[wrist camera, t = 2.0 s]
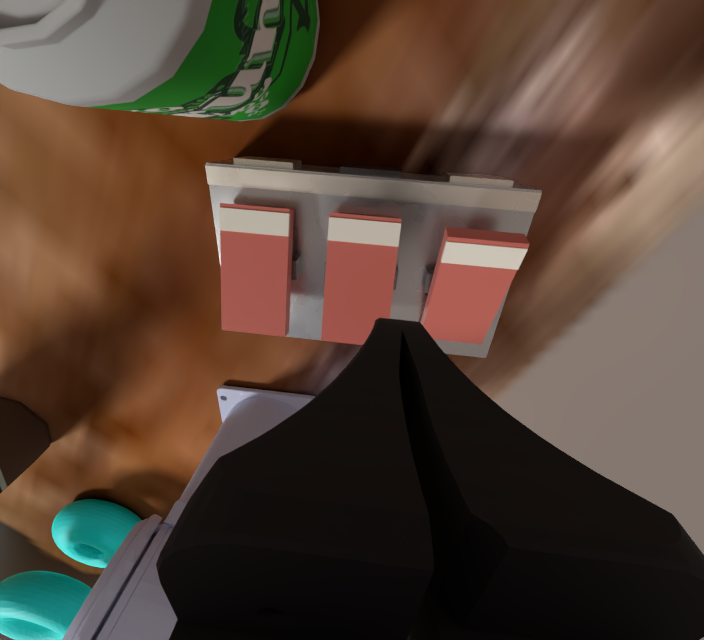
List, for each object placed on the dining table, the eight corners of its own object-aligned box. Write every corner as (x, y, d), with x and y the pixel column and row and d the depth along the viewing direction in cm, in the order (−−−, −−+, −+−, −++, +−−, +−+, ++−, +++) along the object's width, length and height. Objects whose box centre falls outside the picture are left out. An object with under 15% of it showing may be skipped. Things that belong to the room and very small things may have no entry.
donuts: (-56, 604, 28) (46, 612, 26) (50, 492, 36) (131, 493, 35) (17, 650, 32) (106, 659, 31) (95, 541, 41) (168, 544, 40)
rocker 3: (478, 333, 18) (481, 345, 17) (419, 326, 18) (420, 338, 17) (524, 233, 13) (530, 244, 13) (445, 226, 14) (447, 237, 13)
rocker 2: (385, 342, 17) (386, 347, 16) (323, 335, 17) (320, 340, 16) (400, 219, 15) (401, 218, 14) (331, 213, 15) (329, 212, 14)
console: (473, 330, 21) (489, 366, 18) (248, 307, 22) (223, 337, 19) (519, 176, 17) (552, 186, 13) (232, 153, 17) (196, 157, 14)
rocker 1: (289, 332, 17) (284, 337, 16) (228, 325, 17) (221, 330, 16) (294, 210, 15) (289, 208, 15) (227, 204, 16) (219, 202, 15)
